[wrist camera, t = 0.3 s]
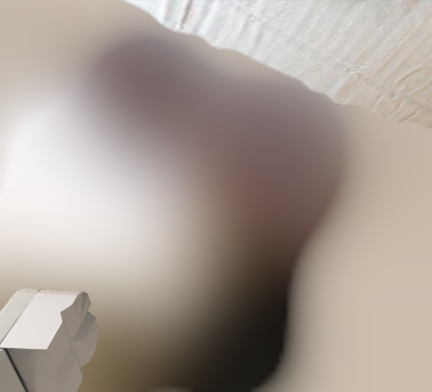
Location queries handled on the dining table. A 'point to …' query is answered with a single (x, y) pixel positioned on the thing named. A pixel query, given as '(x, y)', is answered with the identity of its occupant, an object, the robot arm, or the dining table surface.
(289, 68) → the dining table surface
